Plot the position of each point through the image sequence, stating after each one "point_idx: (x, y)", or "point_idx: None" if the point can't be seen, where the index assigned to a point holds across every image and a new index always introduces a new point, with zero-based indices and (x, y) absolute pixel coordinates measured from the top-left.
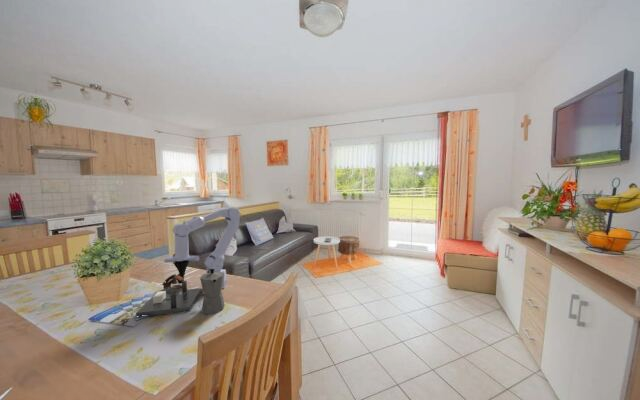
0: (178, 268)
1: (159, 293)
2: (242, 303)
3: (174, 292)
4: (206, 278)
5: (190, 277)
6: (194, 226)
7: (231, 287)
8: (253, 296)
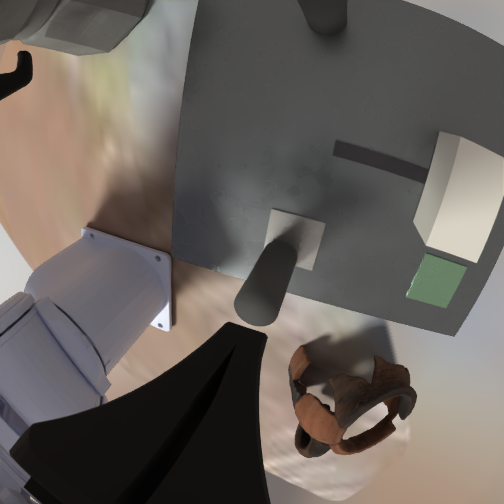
0: (230, 450)
1: (471, 215)
2: (24, 47)
3: (353, 280)
4: None
5: (277, 432)
6: None
7: (62, 223)
8: (2, 100)
